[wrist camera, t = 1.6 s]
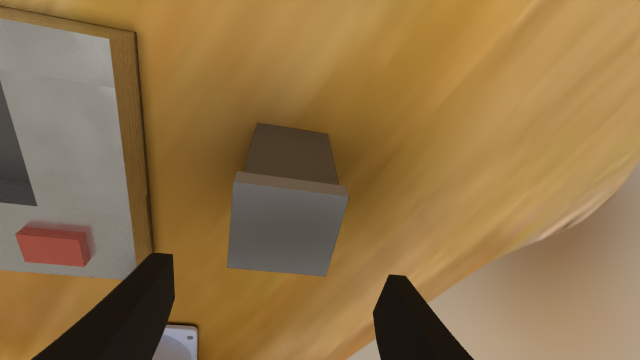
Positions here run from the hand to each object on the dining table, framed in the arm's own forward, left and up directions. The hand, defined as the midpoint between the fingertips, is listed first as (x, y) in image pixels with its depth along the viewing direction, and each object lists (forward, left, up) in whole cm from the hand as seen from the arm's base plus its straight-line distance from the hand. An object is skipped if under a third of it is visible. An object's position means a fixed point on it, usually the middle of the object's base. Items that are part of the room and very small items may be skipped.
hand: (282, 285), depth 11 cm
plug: (0, 0, -10) cm, 10 cm away
